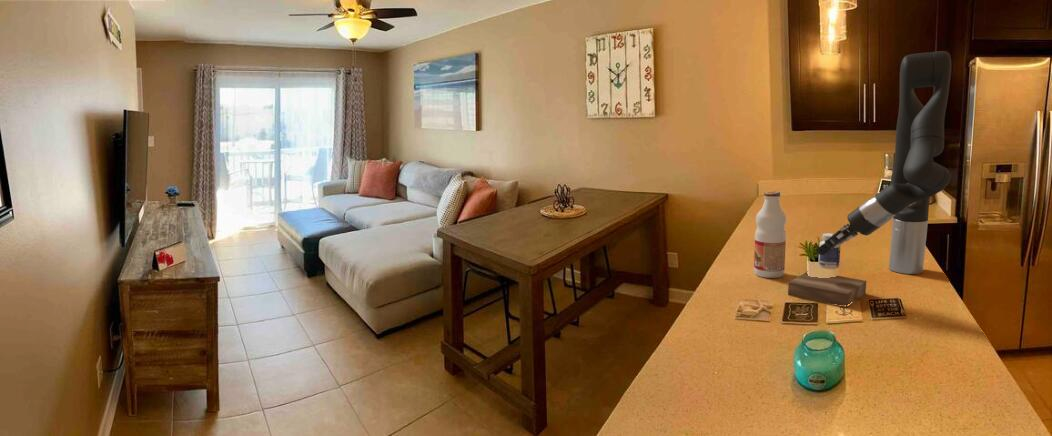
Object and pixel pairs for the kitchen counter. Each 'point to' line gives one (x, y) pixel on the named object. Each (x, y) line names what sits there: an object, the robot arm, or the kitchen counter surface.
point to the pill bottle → (829, 255)
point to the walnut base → (827, 289)
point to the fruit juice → (770, 238)
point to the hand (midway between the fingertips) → (822, 250)
